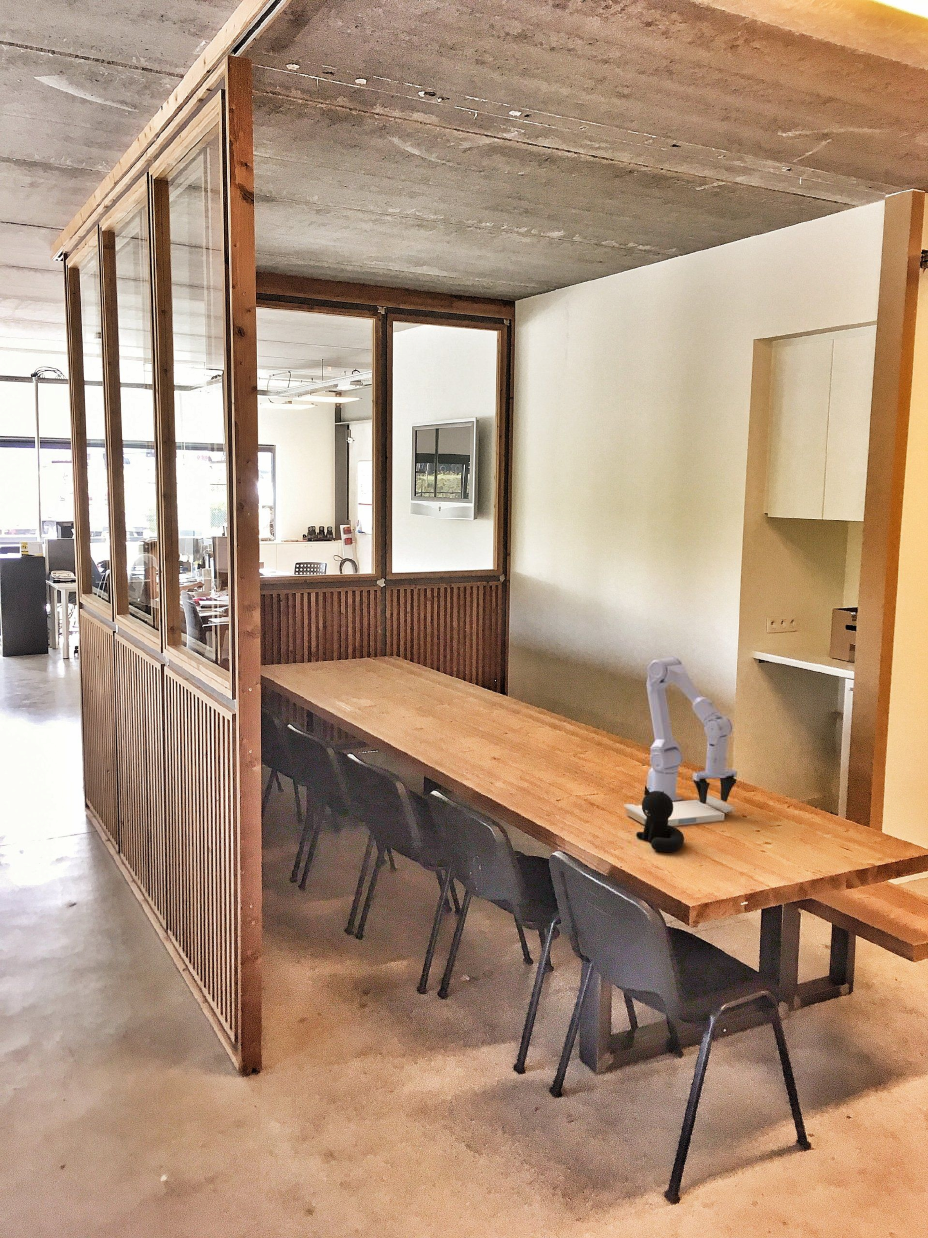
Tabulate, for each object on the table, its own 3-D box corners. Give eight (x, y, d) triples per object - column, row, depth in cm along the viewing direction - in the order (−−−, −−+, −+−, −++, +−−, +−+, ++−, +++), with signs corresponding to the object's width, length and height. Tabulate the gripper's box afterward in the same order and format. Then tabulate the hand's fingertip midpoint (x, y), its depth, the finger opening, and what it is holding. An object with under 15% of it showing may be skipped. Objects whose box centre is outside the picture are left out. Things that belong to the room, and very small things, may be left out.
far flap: (725, 810, 299) (725, 818, 299) (734, 807, 300) (735, 815, 300) (699, 798, 311) (699, 805, 311) (708, 795, 312) (709, 802, 312)
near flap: (634, 804, 302) (633, 812, 302) (624, 804, 300) (623, 812, 301) (658, 818, 290) (657, 826, 290) (647, 818, 288) (646, 826, 289)
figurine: (622, 839, 279) (625, 786, 277) (658, 831, 287) (662, 779, 285) (663, 857, 266) (666, 802, 264) (700, 848, 274) (704, 795, 272)
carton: (634, 812, 303) (634, 806, 302) (696, 806, 311) (696, 799, 311) (660, 827, 290) (661, 820, 290) (724, 820, 298) (724, 814, 298)
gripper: (704, 763, 296) (701, 808, 298) (744, 759, 302) (741, 803, 304) (690, 756, 303) (687, 800, 305) (730, 753, 308) (727, 796, 310)
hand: (713, 801), depth 305 cm, fingers open, 7 cm apart
